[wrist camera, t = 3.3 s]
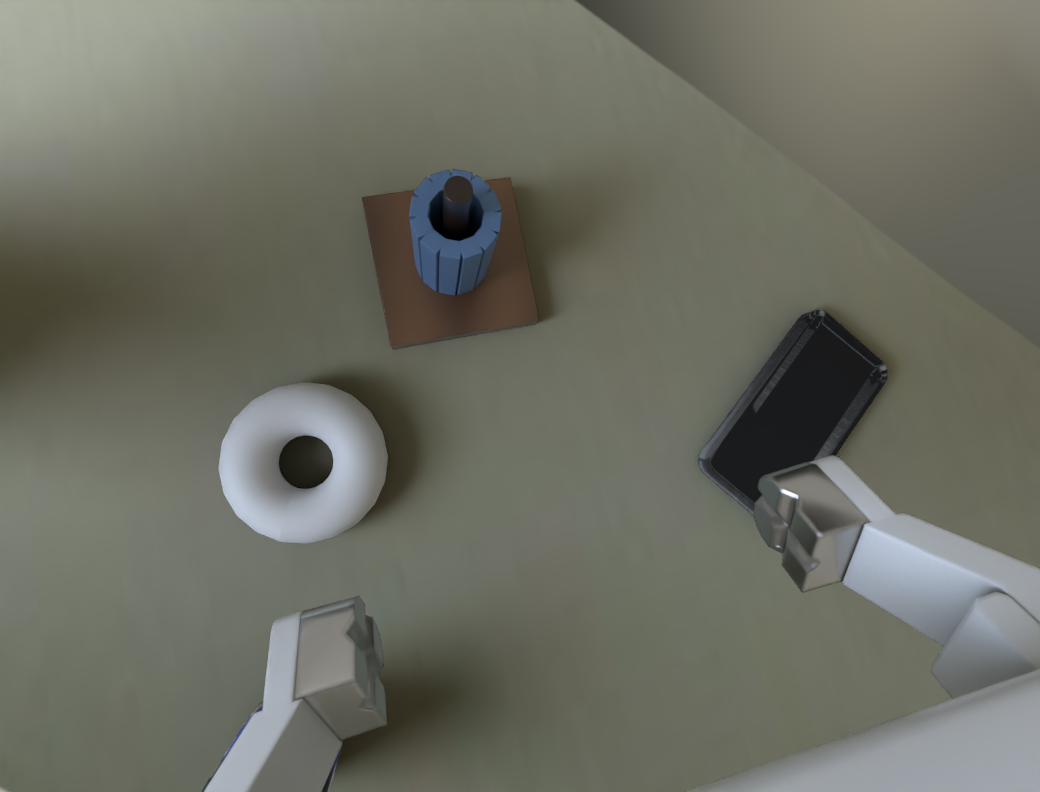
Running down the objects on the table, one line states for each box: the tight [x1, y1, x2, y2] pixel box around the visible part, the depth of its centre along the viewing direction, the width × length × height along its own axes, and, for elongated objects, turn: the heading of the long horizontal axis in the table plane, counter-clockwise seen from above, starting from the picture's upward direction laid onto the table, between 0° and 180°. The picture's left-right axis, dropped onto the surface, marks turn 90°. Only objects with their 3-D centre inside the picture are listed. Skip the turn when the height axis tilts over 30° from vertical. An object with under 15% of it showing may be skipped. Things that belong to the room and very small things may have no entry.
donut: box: [219, 382, 388, 543], centre depth 36 cm, size 10×4×10 cm
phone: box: [698, 310, 888, 515], centre depth 42 cm, size 8×1×15 cm
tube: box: [409, 169, 502, 295], centre depth 34 cm, size 5×5×8 cm
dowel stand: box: [362, 176, 539, 349], centre depth 33 cm, size 10×10×12 cm
